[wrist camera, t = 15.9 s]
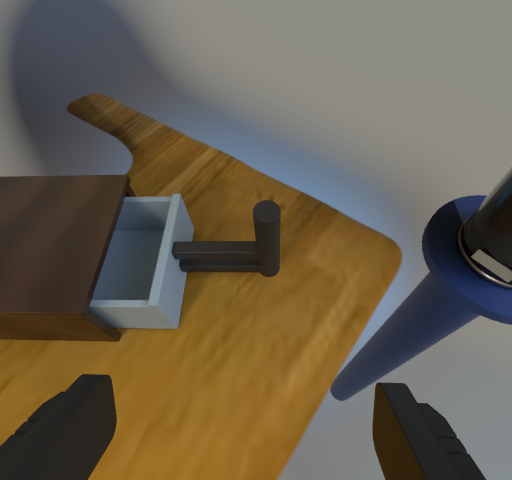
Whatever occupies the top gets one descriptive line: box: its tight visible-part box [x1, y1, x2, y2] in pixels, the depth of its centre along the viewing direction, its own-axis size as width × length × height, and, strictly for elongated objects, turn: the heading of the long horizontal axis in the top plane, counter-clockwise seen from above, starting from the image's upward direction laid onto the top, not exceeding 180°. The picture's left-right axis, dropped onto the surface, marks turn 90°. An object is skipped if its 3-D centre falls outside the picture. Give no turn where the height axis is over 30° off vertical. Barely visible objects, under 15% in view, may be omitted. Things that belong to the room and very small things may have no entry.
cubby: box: [0, 175, 136, 341], centre depth 30 cm, size 16×14×8 cm
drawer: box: [88, 194, 280, 329], centre depth 28 cm, size 23×11×10 cm, turn 88°
